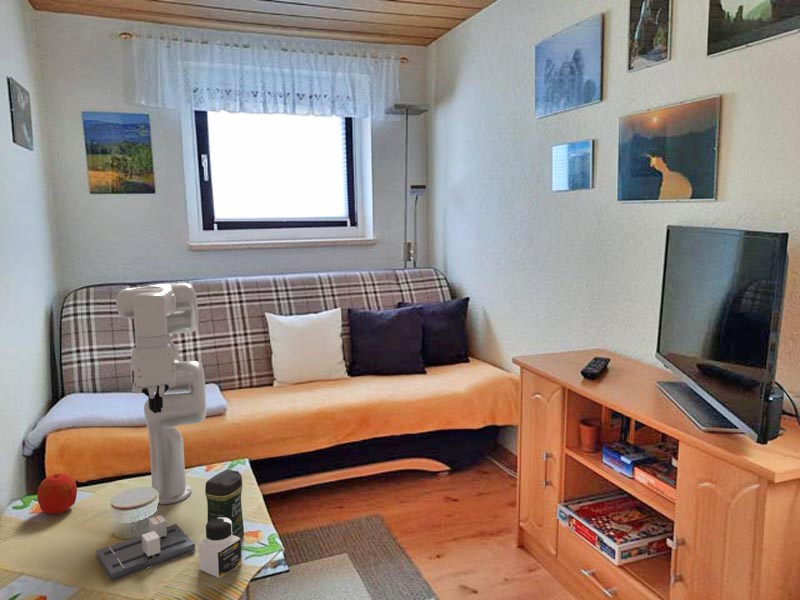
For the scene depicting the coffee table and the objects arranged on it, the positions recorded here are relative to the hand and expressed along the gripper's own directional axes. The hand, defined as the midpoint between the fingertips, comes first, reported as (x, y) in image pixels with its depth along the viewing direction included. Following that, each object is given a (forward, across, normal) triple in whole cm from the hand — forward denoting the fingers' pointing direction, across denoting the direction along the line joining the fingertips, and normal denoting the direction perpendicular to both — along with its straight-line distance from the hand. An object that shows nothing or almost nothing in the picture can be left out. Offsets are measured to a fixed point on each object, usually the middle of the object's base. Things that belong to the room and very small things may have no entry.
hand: (156, 411), depth 154 cm
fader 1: (+33, +2, +1) cm, 33 cm away
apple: (+35, +18, -35) cm, 53 cm away
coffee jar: (+35, -12, +12) cm, 39 cm away
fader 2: (+33, +6, +8) cm, 34 cm away
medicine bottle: (+35, -6, +22) cm, 42 cm away
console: (+35, +6, +4) cm, 36 cm away
